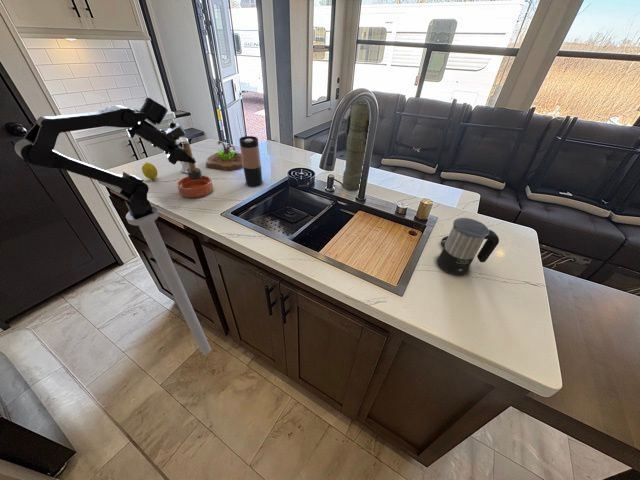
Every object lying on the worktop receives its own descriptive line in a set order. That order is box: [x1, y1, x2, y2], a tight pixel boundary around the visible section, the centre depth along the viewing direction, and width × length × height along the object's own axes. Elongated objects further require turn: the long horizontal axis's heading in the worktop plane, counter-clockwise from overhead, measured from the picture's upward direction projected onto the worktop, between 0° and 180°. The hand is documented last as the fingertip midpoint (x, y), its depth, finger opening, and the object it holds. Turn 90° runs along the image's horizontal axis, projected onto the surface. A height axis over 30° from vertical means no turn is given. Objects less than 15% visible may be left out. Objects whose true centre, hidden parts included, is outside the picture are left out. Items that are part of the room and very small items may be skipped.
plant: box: [205, 140, 244, 171], centre depth 131 cm, size 20×20×11 cm
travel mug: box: [238, 135, 263, 188], centre depth 111 cm, size 8×8×20 cm
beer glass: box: [176, 136, 192, 174], centre depth 120 cm, size 7×7×15 cm
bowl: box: [176, 174, 214, 199], centre depth 108 cm, size 13×13×4 cm
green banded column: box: [342, 101, 370, 192], centre depth 108 cm, size 9×12×35 cm
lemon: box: [141, 161, 158, 181], centre depth 113 cm, size 6×6×8 cm
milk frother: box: [436, 217, 500, 276], centre depth 78 cm, size 14×16×15 cm
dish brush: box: [183, 142, 203, 180], centre depth 100 cm, size 5×5×14 cm
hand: (194, 161), depth 101 cm, fingers closed on dish brush, 2 cm apart
